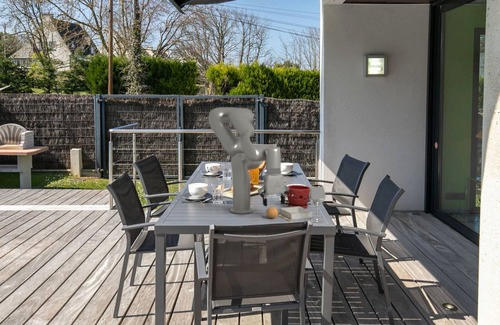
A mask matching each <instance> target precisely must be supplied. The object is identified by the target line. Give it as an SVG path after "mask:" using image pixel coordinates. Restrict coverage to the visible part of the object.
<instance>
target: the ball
mask: <svg viewBox="0 0 500 325" xmlns="http://www.w3.org/2000/svg"><path fill="white" fill-rule="evenodd" d="M265 213H266V216H267V217H268V218H269V219H271V220H272V219H276V218H277V217H278V214H279V211H278V209H277V207H275V206H270V207H268V208H267V209H266V212H265Z"/></svg>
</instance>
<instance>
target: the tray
mask: <svg viewBox="0 0 500 325" xmlns="http://www.w3.org/2000/svg"><path fill="white" fill-rule="evenodd" d="M278 214H280V215H282V216H284V217H286V218H288V219H290V220H292V221H293V220H294V221H295V220H302V219H312V218H313V211H311V210H309V209H307V208H305V209H304V208H302V207H300V206H299V207H288V206H287V207H280V208H279V212H278Z"/></svg>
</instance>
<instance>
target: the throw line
mask: <svg viewBox="0 0 500 325" xmlns="http://www.w3.org/2000/svg"><path fill="white" fill-rule="evenodd" d="M277 217H280V218H282V219H283V220H286V221H287V222H288V223H293V222H294V221H293V220H291V219H289V218H287V217H285V216H283V215H281V214H279V213H278V215H277Z"/></svg>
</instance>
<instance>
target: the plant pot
mask: <svg viewBox="0 0 500 325" xmlns="http://www.w3.org/2000/svg"><path fill="white" fill-rule="evenodd" d="M286 186H287V185H286ZM287 187H289V191H288V193H287V194H286V198H287V201H288V203H287V207H299V206H300V207H302V208H304V209H307V208H308V207H309V204H308V202H309V201H310V199H309V193H310V189H311V186H310V187H309V186H307V185H300V184H290V185H288V186H287Z"/></svg>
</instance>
